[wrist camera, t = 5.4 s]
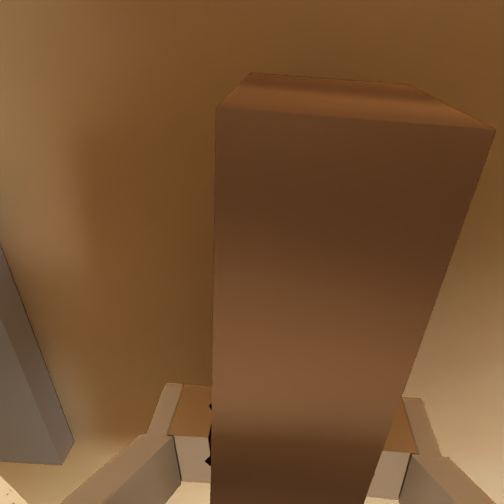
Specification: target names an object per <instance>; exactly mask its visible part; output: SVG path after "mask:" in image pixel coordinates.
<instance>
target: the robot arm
mask: <svg viewBox="0 0 504 504" xmlns="http://www.w3.org/2000/svg"><path fill="white" fill-rule="evenodd" d="M211 421H212V386H205V385H193V384H179V383H167V384H166V385H165V386H164V388H163V390H162V393H161V396H160V399H159V401H158V404H157V407H156V409H155V412H154V415H153V417H152V420H151V423H150V425H149V428H148V431H147V433H146V434H140V435H139V436H138V437H137V438H136V439H134V440H133V441H132V442H131V443H130V444H129V445H127V446H126V447H125V448H124V449H123V450H122V451H120V452H119V453H118V454H117V455H116V456H115V457H113V458H112V459H111V460H110V461H109V462H108V463H107V464H105V465H104V466H103V467H102V468H101V469H100V470H98V471H97V472H96V473H95V474H94V475H93V476H91V477H90V478H89V479H88V480H87V481H86V482H84V483H83V484H82V485H81V486H80V487H79V488H77V489H76V490H75V491H74V492H73V493H72V494H70V495H69V496H68V497H67V498H66V499H65V500H64V501H62V503H61V504H165V503H166V502H167V500H168V499H169V498H170V497H171V496H172V494H173V493H174V492H175V491H176V489H177V488H178V487H179V486H180V485H181V481H183V482H201V483H211ZM367 497H376V498H385V499H393V500H399V503H400V504H496V503H495V502H494V501H493V500H492V499H491V498H490V497H489V496H488V495H487V494H486V493H485V492H484V491H483V490H482V489H481V488H479V487H478V486H477V485H476V484H475V483H474V482H473V481H472V480H471V479H470V478H469V477H468V476H467V475H466V474H465V473H464V472H463V471H462V470H461V469H460V468H459V467H458V466H457V465H456V464H455V463H454V462H453V461H452V460H451V459H450V458H449V457H443V456H442V455H441V452H440V449H439V446H438V443H437V440H436V437H435V434H434V432H433V429H432V426H431V423H430V420H429V417H428V414H427V411H426V408H425V405H424V403H423V401H422V400H421V399H420V398H403V397H401V400H400V403H399V406H398V408H397V411H396V414H395V417H394V420H393V422H392V425H391V428H390V431H389V434H388V436H387V439H386V442H385V445H384V448H383V451H382V453H381V456H380V459H379V462H378V465H377V467H376V470H375V473H374V476H373V479H372V481H371V484H370V487H369V490H368V493H367Z"/></svg>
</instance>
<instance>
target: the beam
mask: <svg viewBox="0 0 504 504" xmlns="http://www.w3.org/2000/svg"><path fill="white" fill-rule="evenodd" d="M495 133H496V129H494V128H492V127H490V126H488V125H486V124H484V123H482V122H480V121H478V120H476V119H474V118H472V117H470V116H468V115H467V114H465V113H463V112H461V111H459V110H457V109H455V108H453V107H451V106H449V105H447V104H445V103H443V102H441V101H439V100H437V99H435V98H433V97H431V96H429V95H427V94H425V93H424V92H422V91H420V90H418V89H416V88H414V87H412V86H410V85H407V84H393V83H380V82H367V81H353V80H340V79H327V78H314V77H300V76H287V75H274V74H260V73H250V74H249V75H248V76H247V77H246V78H245V79H244V80H243V81H242V82H241V83H240V84H239V85H238V86H237V87H236V88H235V89H234V90H233V91H232V92H231V93H230V94H229V95H228V96H227V97H226V98H225V99H224V100H223V101H222V102H221V103H220V104H219V105H218V106H217V107H216V140H215V210H214V280H213V351H212V421H211V492H210V504H364V501H365V498H366V496H367V493H368V490H369V487H370V484H371V481H372V479H373V476H374V473H375V470H376V467H377V465H378V462H379V459H380V456H381V453H382V451H383V448H384V445H385V442H386V439H387V436H388V434H389V431H390V428H391V425H392V422H393V420H394V417H395V414H396V411H397V408H398V406H399V403H400V400H401V397H402V394H403V391H404V389H405V386H406V383H407V380H408V377H409V375H410V372H411V369H412V366H413V363H414V361H415V358H416V355H417V352H418V349H419V346H420V344H421V341H422V338H423V335H424V332H425V330H426V327H427V324H428V321H429V318H430V316H431V313H432V310H433V307H434V304H435V301H436V299H437V296H438V293H439V290H440V287H441V285H442V282H443V279H444V276H445V273H446V271H447V268H448V265H449V262H450V259H451V256H452V254H453V251H454V248H455V245H456V242H457V240H458V237H459V234H460V231H461V228H462V226H463V223H464V220H465V217H466V214H467V211H468V209H469V206H470V203H471V200H472V197H473V195H474V192H475V189H476V186H477V183H478V181H479V178H480V175H481V172H482V169H483V166H484V164H485V161H486V158H487V155H488V152H489V150H490V147H491V144H492V141H493V138H494V136H495Z"/></svg>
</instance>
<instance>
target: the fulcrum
mask: <svg viewBox="0 0 504 504" xmlns="http://www.w3.org/2000/svg"><path fill="white" fill-rule="evenodd" d="M73 444H74V440H73V437H72V435H71V432H70V429H69V427H68V424H67V421H66V419H65V416H64V413H63V411H62V408H61V405H60V403H59V400H58V397H57V395H56V392H55V389H54V387H53V384H52V381H51V379H50V376H49V373H48V371H47V368H46V365H45V363H44V360H43V357H42V355H41V352H40V349H39V347H38V344H37V341H36V339H35V336H34V333H33V331H32V328H31V325H30V323H29V320H28V317H27V315H26V312H25V310H24V307H23V304H22V302H21V299H20V296H19V294H18V291H17V288H16V286H15V283H14V280H13V278H12V275H11V272H10V270H9V267H8V264H7V262H6V259H5V256H4V254H3V251H2V248H1V246H0V461H2V462H18V463H34V464H50V465H63V463H64V461H65V459H66V457H67V455H68V453H69V451H70V449H71V447H72V445H73Z"/></svg>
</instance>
